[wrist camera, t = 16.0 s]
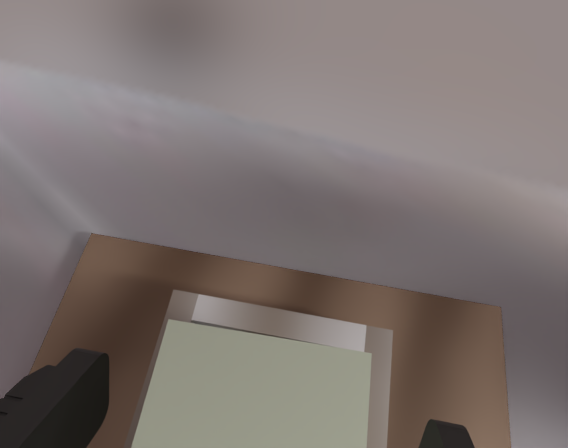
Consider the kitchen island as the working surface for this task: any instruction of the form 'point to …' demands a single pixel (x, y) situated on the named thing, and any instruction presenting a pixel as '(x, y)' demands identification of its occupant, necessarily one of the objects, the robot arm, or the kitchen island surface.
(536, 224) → the kitchen island surface
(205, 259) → the board
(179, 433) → the post
